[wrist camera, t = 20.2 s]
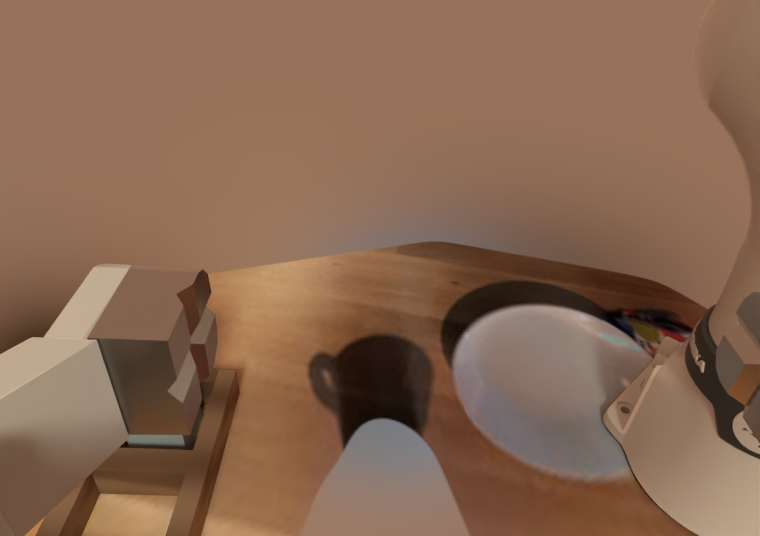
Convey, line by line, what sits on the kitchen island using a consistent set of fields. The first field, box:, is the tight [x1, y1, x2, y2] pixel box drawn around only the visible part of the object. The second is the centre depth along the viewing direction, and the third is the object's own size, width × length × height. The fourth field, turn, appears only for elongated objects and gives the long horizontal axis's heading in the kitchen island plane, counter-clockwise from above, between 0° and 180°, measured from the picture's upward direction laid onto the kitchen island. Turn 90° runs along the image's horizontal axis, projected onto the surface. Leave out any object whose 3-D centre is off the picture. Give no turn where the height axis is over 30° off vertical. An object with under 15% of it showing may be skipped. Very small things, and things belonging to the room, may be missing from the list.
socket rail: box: [36, 369, 239, 536], centre depth 44 cm, size 19×10×3 cm, turn 0°
